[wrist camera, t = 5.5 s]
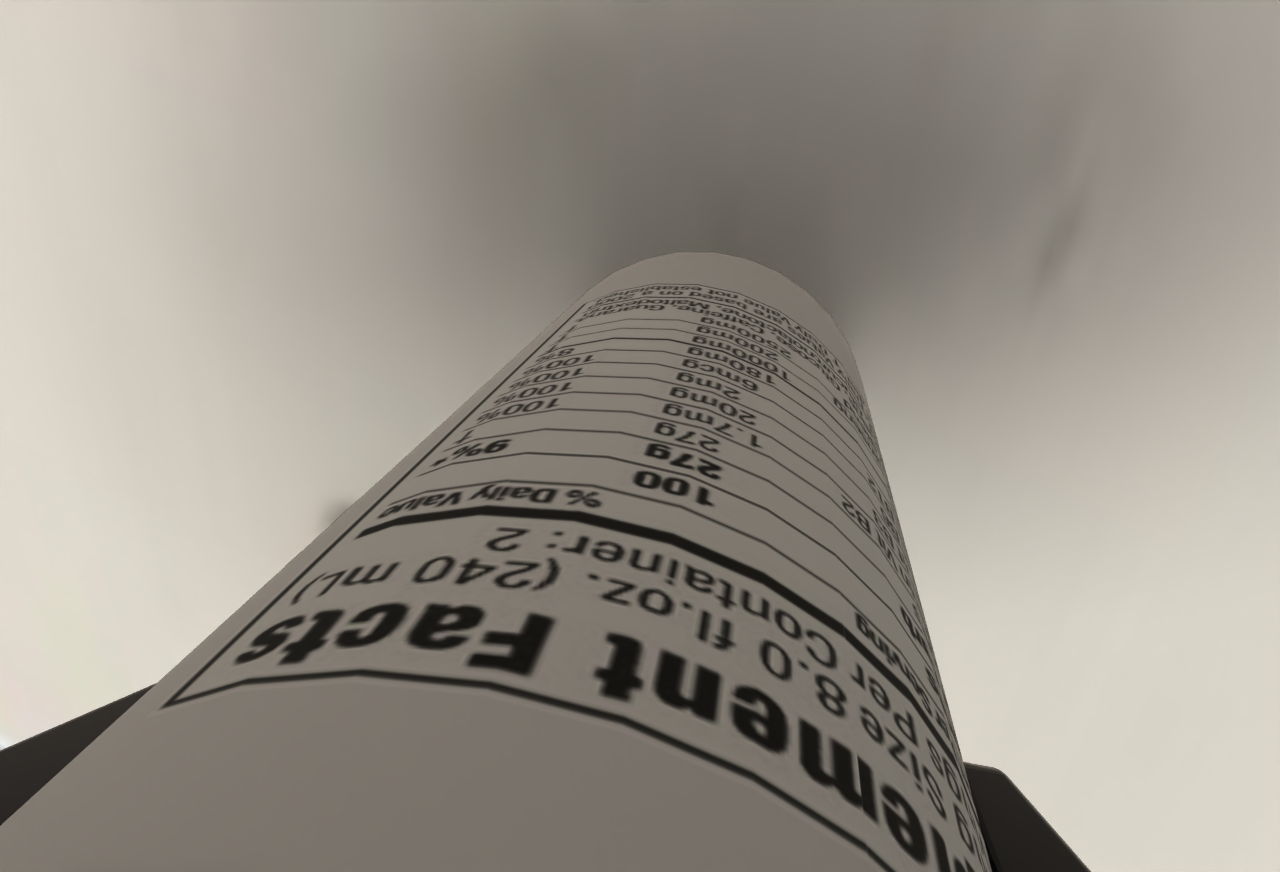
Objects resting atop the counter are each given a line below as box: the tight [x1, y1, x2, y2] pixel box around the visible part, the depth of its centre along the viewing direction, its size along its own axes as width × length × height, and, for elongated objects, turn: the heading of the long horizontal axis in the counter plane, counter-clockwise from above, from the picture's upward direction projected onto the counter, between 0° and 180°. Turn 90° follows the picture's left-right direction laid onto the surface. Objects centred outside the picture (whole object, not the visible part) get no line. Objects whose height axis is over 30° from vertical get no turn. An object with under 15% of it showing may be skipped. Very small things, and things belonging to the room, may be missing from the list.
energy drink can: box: [0, 252, 992, 872], centre depth 9 cm, size 6×6×15 cm
